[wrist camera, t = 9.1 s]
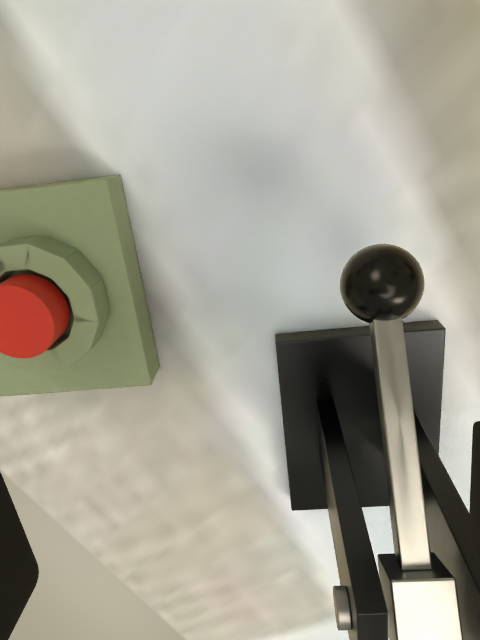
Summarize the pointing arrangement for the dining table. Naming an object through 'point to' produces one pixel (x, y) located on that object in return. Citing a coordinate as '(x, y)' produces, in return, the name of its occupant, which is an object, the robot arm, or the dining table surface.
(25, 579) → the robot arm
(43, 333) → the button
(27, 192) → the control block
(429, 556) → the lever
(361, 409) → the bracket
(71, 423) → the dining table surface
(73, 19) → the dining table surface
